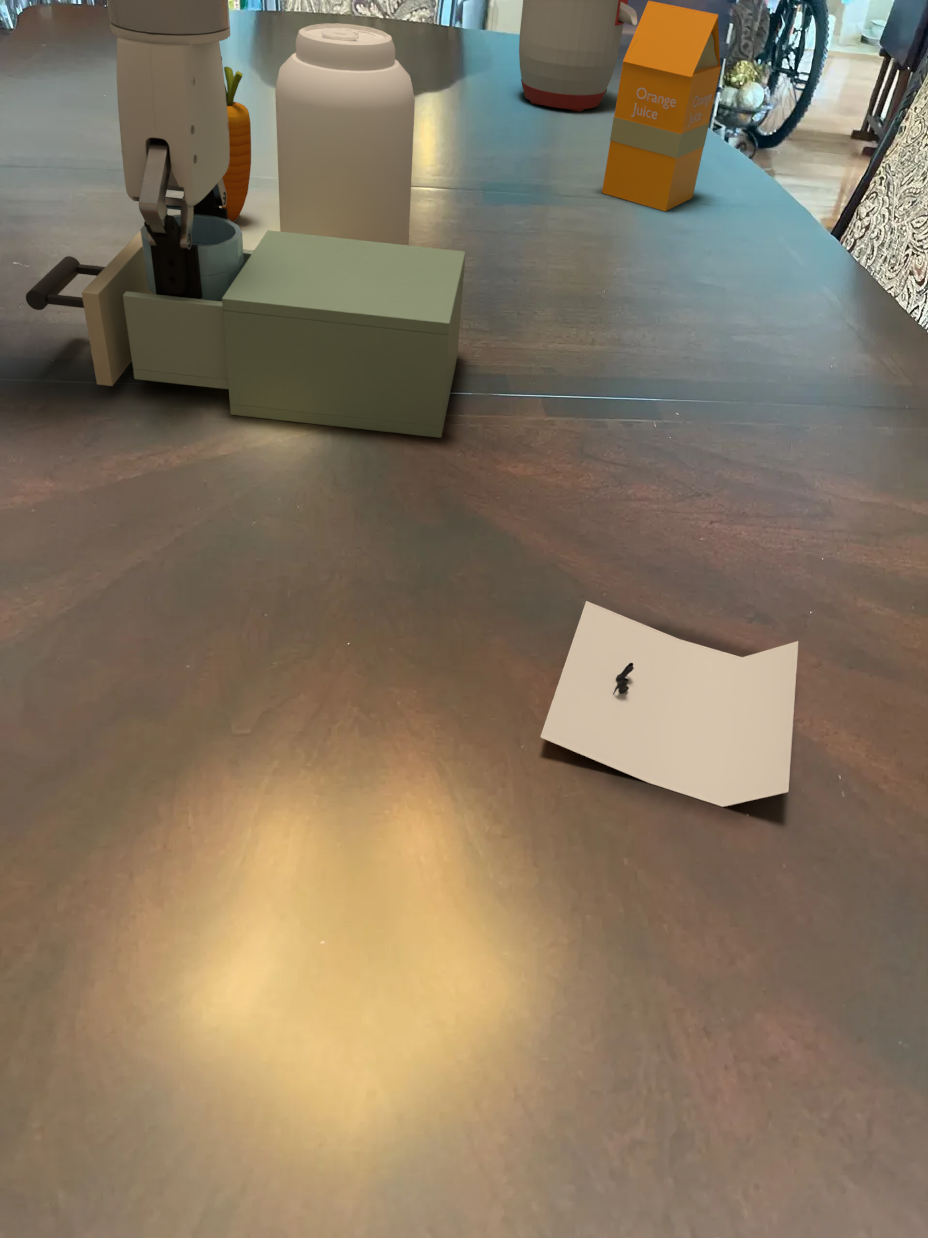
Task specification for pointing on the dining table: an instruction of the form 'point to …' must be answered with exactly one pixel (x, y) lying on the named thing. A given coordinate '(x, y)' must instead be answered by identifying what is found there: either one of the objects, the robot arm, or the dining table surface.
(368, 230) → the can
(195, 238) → the bowl
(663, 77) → the orange juice
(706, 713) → the folded paper
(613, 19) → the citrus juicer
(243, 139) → the carrot
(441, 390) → the grey-green cabinet box
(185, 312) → the drawer
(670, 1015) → the dining table surface
